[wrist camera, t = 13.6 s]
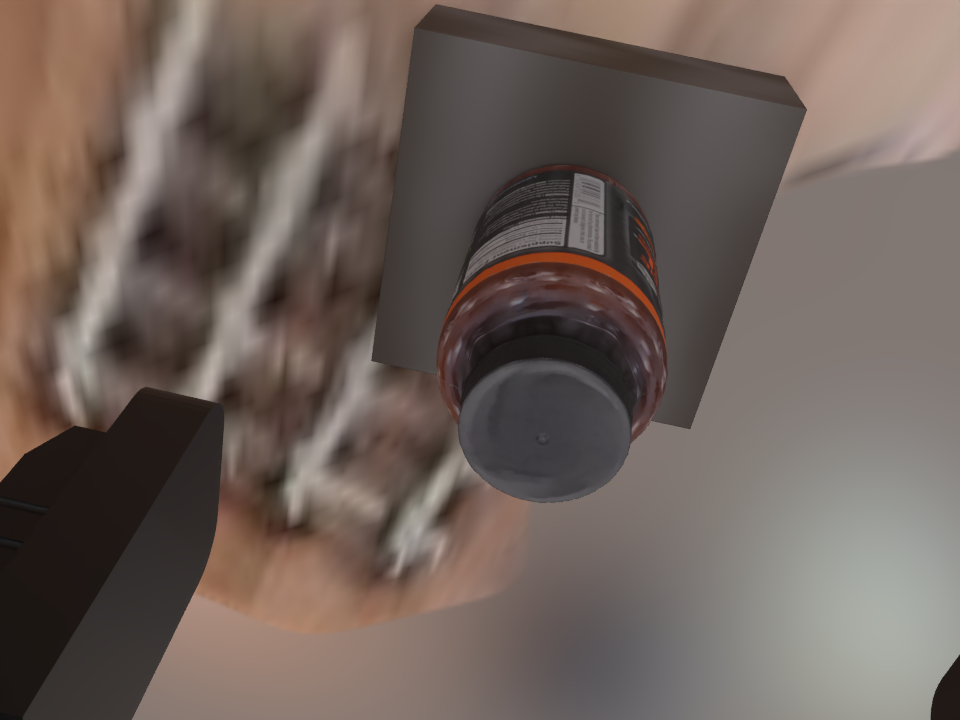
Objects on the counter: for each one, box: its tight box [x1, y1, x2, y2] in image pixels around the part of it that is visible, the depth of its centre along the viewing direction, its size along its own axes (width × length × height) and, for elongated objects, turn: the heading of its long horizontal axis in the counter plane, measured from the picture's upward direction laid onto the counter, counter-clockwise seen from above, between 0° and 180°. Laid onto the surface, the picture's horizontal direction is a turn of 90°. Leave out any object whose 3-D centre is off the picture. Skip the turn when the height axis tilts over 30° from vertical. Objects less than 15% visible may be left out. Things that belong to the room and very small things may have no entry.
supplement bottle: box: [436, 164, 668, 503], centre depth 26 cm, size 6×6×11 cm
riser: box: [371, 4, 807, 429], centre depth 32 cm, size 12×12×4 cm
